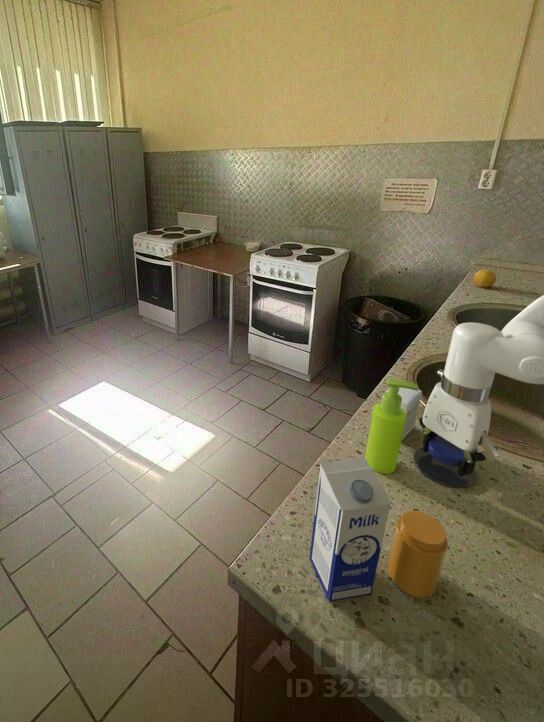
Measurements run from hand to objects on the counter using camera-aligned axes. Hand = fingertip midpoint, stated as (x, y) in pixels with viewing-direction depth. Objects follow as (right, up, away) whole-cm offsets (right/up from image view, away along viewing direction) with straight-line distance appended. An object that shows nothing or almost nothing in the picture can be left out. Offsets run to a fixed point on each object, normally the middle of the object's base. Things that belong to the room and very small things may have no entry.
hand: (445, 460), depth 81 cm
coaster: (0, -2, +1) cm, 2 cm away
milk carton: (-30, -10, -19) cm, 37 cm away
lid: (0, +3, -1) cm, 3 cm away
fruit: (+86, +40, +104) cm, 141 cm away
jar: (-19, -10, -20) cm, 29 cm away
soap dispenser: (-12, -2, +2) cm, 12 cm away
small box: (-4, +2, +12) cm, 13 cm away
